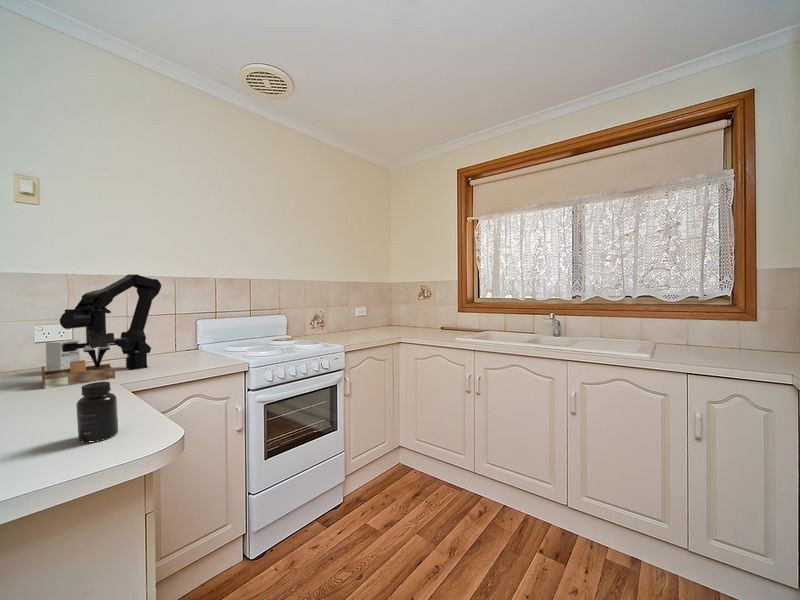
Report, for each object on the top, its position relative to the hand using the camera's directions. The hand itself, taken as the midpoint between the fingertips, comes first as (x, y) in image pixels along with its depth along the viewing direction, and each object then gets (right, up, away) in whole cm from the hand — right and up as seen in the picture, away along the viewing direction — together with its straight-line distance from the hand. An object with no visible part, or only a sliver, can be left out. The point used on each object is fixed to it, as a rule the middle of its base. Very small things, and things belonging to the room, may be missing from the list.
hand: (97, 367), depth 132 cm
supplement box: (-23, -4, +11) cm, 26 cm away
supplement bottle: (+47, -6, -54) cm, 71 cm away
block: (-4, -1, -4) cm, 6 cm away
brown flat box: (-4, -4, -4) cm, 7 cm away
